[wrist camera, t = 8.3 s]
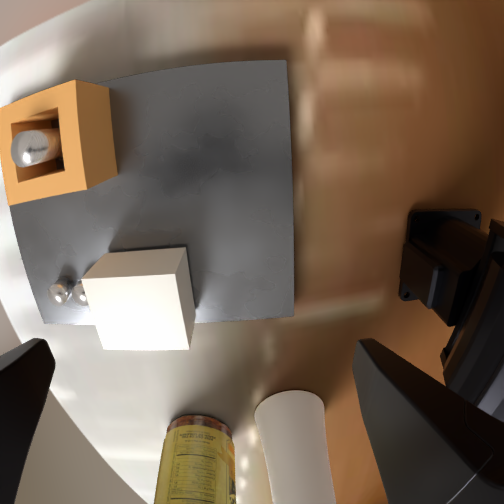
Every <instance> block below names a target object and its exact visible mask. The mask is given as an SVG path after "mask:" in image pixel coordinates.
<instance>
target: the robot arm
mask: <svg viewBox="0 0 504 504" xmlns="http://www.w3.org/2000/svg"><path fill="white" fill-rule="evenodd" d="M475 215H476V217H475ZM415 216H417V220H416V221H414V217H415ZM474 217H475V218H474ZM480 223H481V212H480V211H478V210H476V209H433V210H413V211H411V212H410V213H409V215H408V222H407V233H406V242H405V244H404V246H403V255H402V263H401V270H400V279H401V280H400V287H399V293H398V294H399V297H400V298H401V300H403V301H410V300H417V299H419V300H420V301H421V302H422V303H423V304H424V305H425V306H426V307H427V308H428V309H433V310H434V311H435V312H436V314H437V315H438V316H439V317H440V318H441V319H442V320H443V321H444V322H445V324H446V325H447V326H448V327H451V326H455V328H454V330H453V333H452V335H451V337H450V339H449V341H448V343H447V345H446V347H445V348H443V350H442V352H441V354H440V358H441V362H442V365H443V369H444V370H443V376H444V380H445V385H446V386H444V385H443V384H441V383H440V382H438V381H437V380H435V379H434V378H432V377H431V376H429V375H428V374H426V373H425V372H423V371H422V370H420V369H418V368H417V367H415V366H414V365H412V364H411V363H409V362H408V361H406V360H405V359H403V358H402V357H400V356H399V355H397V354H396V353H394V352H393V351H391V350H390V349H388V348H387V347H385V346H384V345H382V344H381V343H379V342H378V341H376V340H375V339H373V338H368V339H360V340H358V341H357V343H356V348H355V353H354V358H353V365H352V368H353V374H354V379H355V384H356V389H357V394H358V398H359V404H360V409H361V413H362V418H363V421H364V424H365V427H366V431H367V434H368V437H369V440H370V443H371V446H372V449H373V453H374V456H375V459H376V462H377V465H378V469H379V472H380V475H381V479H382V482H383V485H384V489H385V492H386V496H387V499H388V503H389V504H504V222H502V221H499V220H495V219H491V221H490V225H489V229H490V232H489V235H488V234H487V233H485V232H483V231H481V230H480ZM406 292H407V294H406V295H404V294H405V293H406ZM54 370H55V359H54V357H53V355H52V352H51V350H50V348H49V345H48V343H47V341H46V340H44V339H39V338H33V339H31V340H29V341H27V342H25V343H24V344H22V345H20V346H18V347H16V348H14V349H12V350H10V351H8V352H7V353H5V354H3V355H1V356H0V504H14V503H15V499H16V495H17V491H18V487H19V483H20V480H21V476H22V472H23V469H24V465H25V462H26V459H27V455H28V452H29V449H30V446H31V443H32V440H33V436H34V434H35V431H36V428H37V425H38V422H39V419H40V417H41V414H42V411H43V408H44V405H45V402H46V398H47V394H48V391H49V387H50V384H51V380H52V377H53V373H54Z"/></svg>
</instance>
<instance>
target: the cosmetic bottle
mask: <svg viewBox="0 0 504 504" xmlns="http://www.w3.org/2000/svg"><path fill="white" fill-rule="evenodd" d="M254 418H255V422H256V425H257V428H258V431H259V435H260V438H261V442H262V446H263V451H264V455H265V460H266V465H267V470H268V476H269V481H270V488H271V494H272V500H273V504H336V500H335V494H334V488H333V482H332V476H331V470H330V464H329V457H328V450H327V441H326V431H325V417H324V404H323V402H322V400H321V399H320V398H319V397H318V396H317V395H315V394H313V393H310V392H307V391H301V390H291V391H284V392H280V393H277V394H274V395H272V396H270V397H268V398H266V399H265V400H264V401H262V402H261V403H260V404H259V405H258V407H257V408H256V411H255V414H254Z"/></svg>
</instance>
